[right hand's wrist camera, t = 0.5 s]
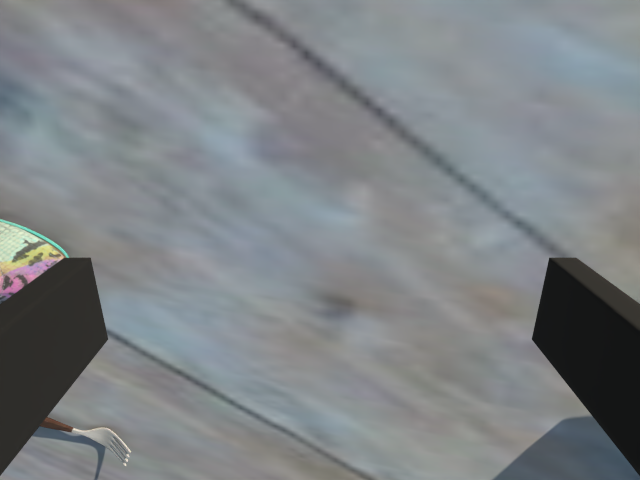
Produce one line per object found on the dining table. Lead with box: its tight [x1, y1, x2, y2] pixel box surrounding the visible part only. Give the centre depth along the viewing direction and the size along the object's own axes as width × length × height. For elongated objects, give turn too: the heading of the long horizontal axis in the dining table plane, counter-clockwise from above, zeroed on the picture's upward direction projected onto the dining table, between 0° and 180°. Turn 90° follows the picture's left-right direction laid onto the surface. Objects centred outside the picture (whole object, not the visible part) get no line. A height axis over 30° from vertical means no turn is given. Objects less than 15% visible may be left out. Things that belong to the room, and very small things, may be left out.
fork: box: [40, 417, 131, 466], centre depth 46 cm, size 3×16×2 cm, turn 67°
